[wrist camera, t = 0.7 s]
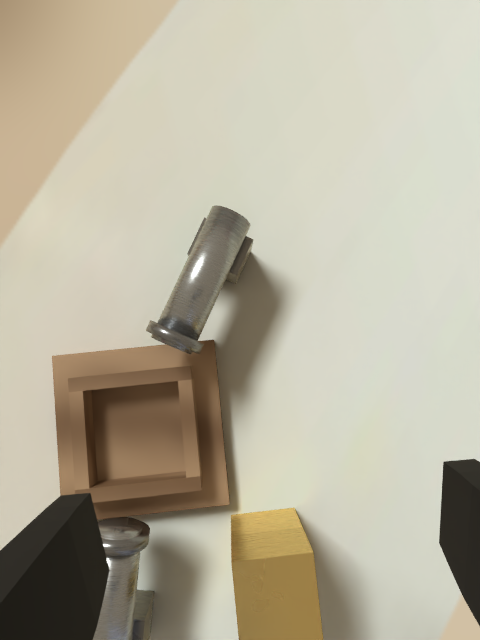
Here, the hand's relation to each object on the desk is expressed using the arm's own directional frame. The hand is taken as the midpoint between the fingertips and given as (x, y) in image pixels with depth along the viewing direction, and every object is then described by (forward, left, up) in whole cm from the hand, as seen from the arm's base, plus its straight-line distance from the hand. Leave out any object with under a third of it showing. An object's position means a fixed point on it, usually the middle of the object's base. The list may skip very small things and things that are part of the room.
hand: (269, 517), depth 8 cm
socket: (0, +6, -18) cm, 19 cm away
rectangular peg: (-8, -1, -18) cm, 20 cm away
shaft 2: (+8, +2, -18) cm, 20 cm away
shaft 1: (-9, +8, -18) cm, 22 cm away
